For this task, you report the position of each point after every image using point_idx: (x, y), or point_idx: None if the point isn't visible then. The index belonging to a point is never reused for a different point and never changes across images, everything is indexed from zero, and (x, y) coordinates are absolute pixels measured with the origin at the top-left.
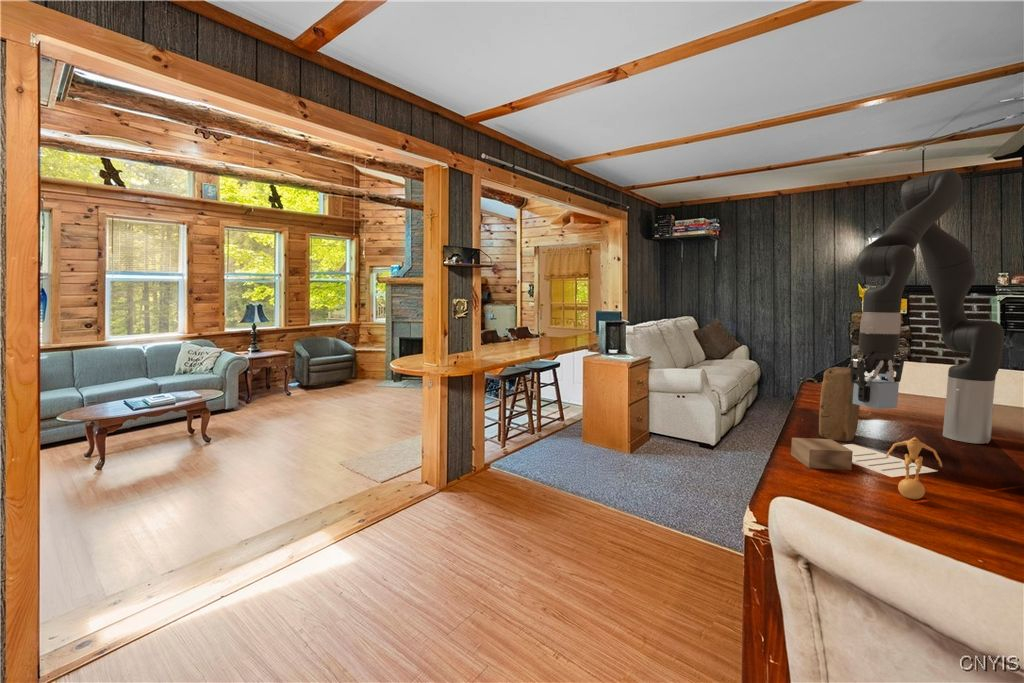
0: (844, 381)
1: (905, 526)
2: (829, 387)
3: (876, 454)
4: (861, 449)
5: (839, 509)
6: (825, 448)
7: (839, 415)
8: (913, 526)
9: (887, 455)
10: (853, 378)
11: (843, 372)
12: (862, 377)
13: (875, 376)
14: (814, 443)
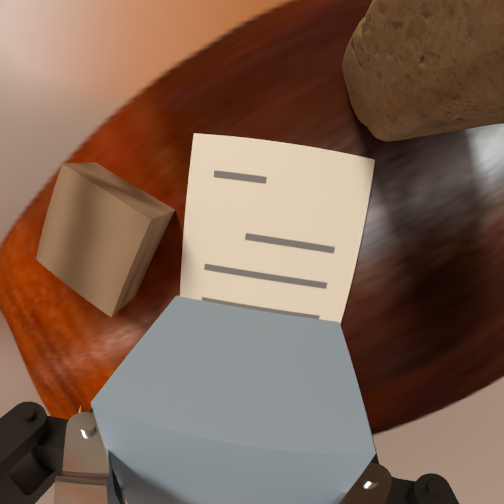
0: (488, 60)
1: (60, 405)
2: None
3: (326, 256)
4: (337, 207)
5: (23, 353)
6: (68, 272)
7: (378, 103)
8: (67, 409)
9: (79, 409)
10: (13, 430)
11: None
12: (32, 479)
13: None
14: (73, 230)
